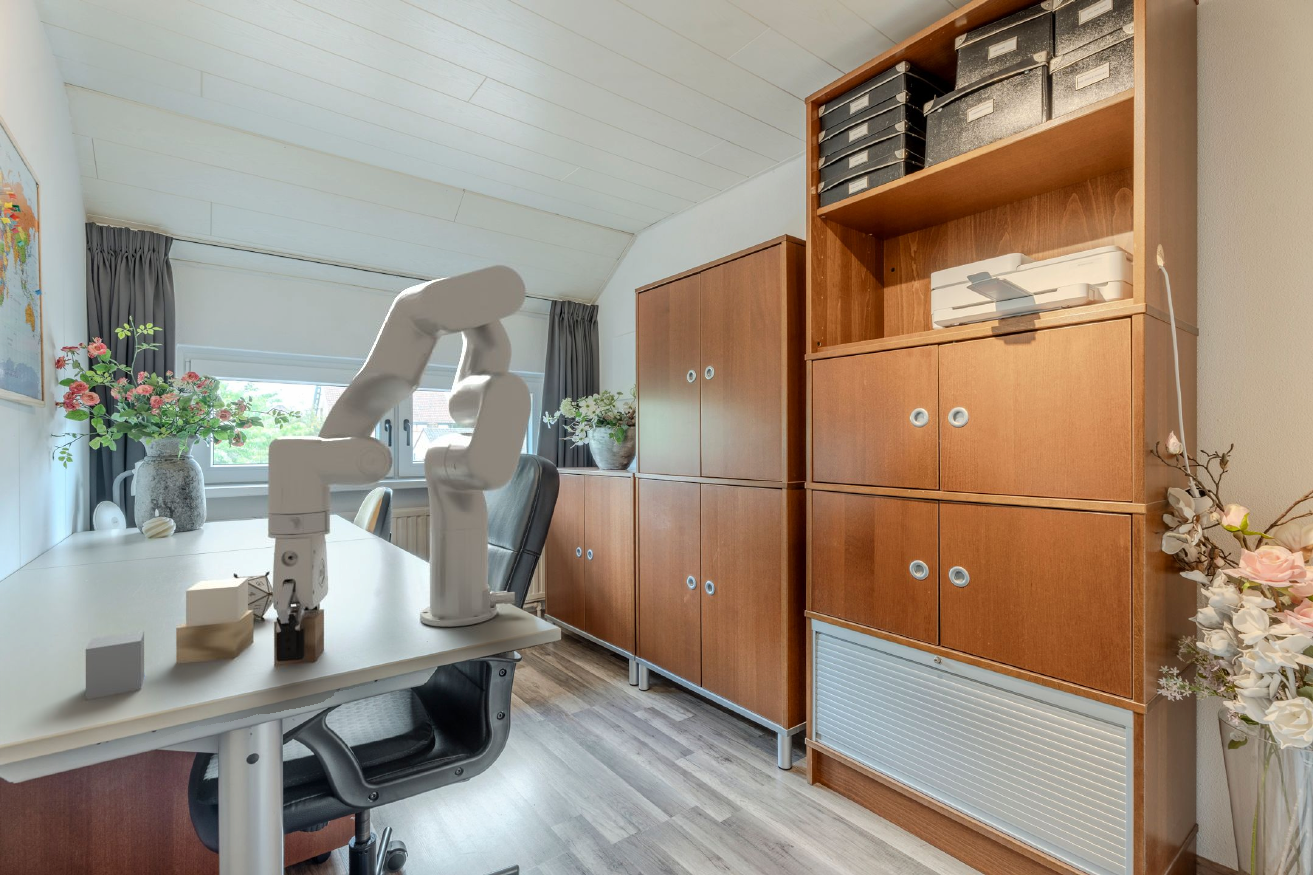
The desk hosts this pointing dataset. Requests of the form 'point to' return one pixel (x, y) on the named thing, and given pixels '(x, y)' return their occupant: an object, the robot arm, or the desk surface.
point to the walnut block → (307, 637)
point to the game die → (259, 595)
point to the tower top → (216, 602)
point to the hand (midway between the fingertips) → (299, 648)
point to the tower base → (214, 640)
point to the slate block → (114, 664)
